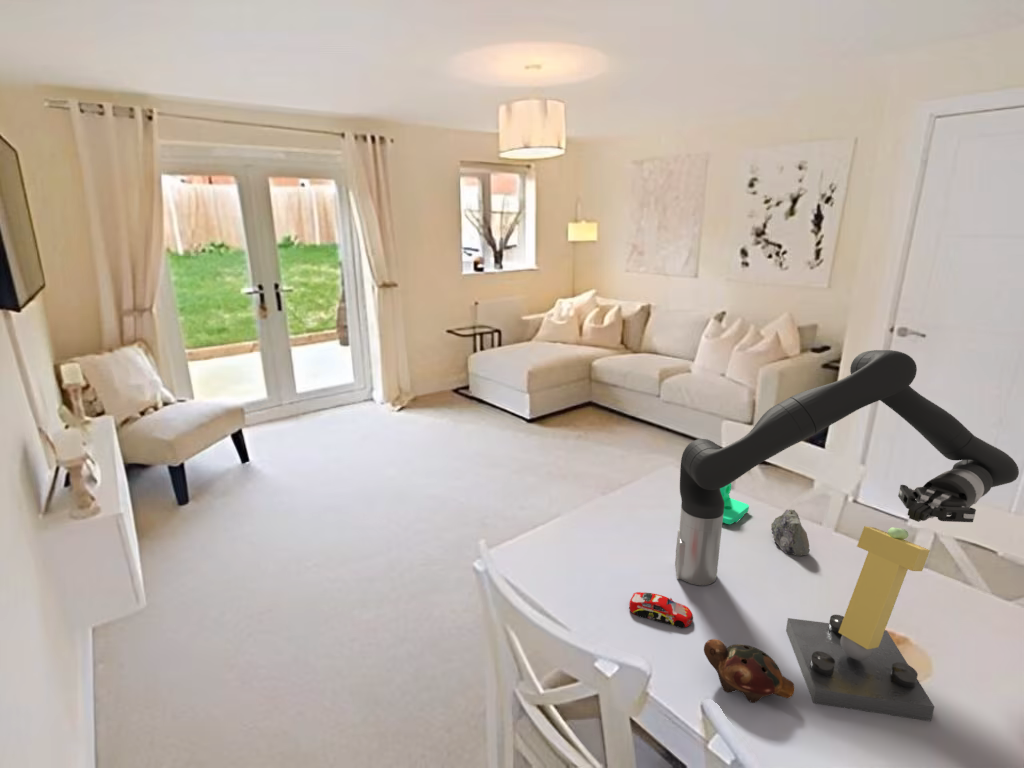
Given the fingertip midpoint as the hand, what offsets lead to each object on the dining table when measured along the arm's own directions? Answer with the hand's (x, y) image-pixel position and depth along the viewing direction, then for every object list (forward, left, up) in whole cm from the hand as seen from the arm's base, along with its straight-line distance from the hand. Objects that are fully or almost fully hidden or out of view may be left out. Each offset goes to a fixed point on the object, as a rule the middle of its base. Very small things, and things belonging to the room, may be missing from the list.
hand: (914, 515), depth 100 cm
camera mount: (-23, +45, -28) cm, 58 cm away
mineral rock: (-10, +34, -28) cm, 45 cm away
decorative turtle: (-30, -18, -28) cm, 45 cm away
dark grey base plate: (-10, -10, -28) cm, 31 cm away
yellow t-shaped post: (-11, -11, -24) cm, 29 cm away
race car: (-44, -1, -28) cm, 52 cm away
